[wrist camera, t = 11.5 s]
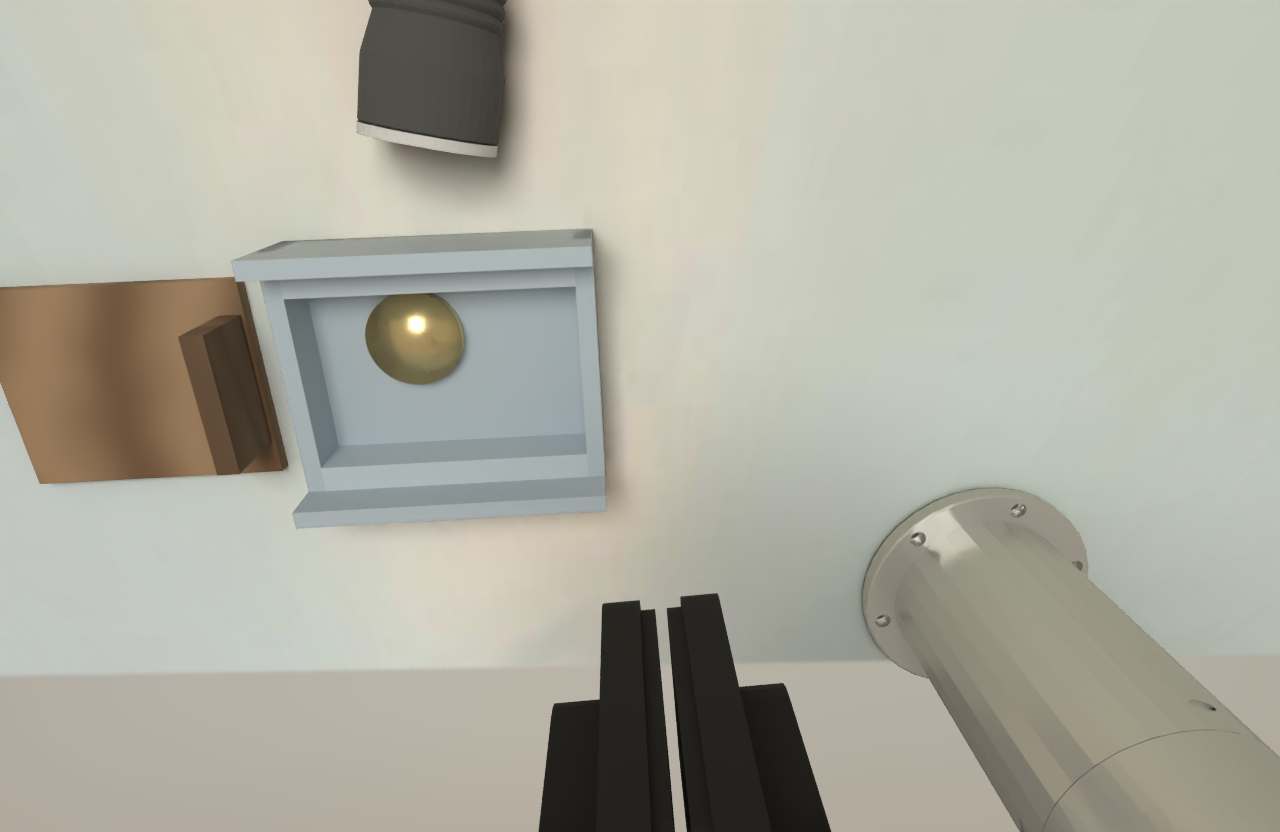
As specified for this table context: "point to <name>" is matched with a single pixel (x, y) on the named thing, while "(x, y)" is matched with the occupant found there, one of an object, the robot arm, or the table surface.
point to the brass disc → (415, 337)
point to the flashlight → (433, 74)
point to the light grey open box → (458, 403)
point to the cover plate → (137, 380)
